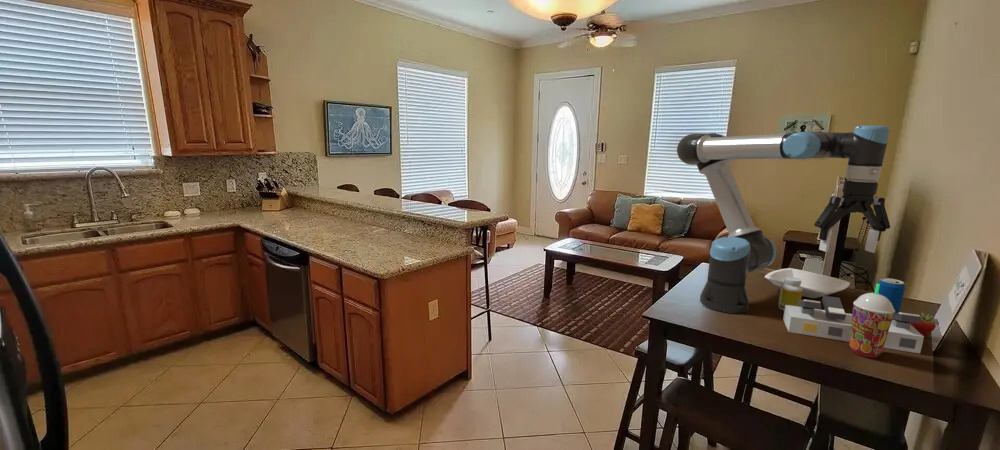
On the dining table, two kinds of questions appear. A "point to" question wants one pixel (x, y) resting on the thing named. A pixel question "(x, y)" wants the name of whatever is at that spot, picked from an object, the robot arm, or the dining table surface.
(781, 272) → the bowl
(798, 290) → the pill bottle
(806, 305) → the rocker
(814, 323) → the switch unit
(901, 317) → the rocker
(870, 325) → the smoothie
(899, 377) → the dining table surface
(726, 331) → the dining table surface
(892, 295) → the beverage can
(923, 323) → the fruit
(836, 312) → the rocker
